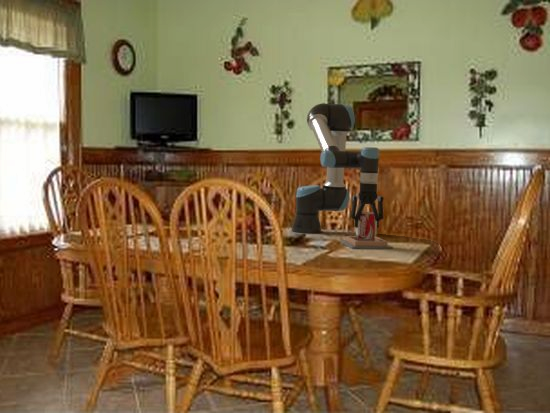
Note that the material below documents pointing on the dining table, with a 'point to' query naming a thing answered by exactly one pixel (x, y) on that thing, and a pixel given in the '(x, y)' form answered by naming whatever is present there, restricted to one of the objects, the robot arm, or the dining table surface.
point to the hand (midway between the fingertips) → (366, 235)
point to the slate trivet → (365, 243)
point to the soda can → (367, 226)
